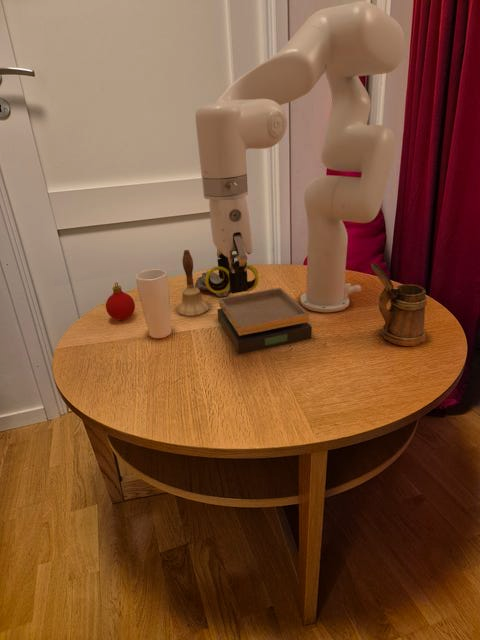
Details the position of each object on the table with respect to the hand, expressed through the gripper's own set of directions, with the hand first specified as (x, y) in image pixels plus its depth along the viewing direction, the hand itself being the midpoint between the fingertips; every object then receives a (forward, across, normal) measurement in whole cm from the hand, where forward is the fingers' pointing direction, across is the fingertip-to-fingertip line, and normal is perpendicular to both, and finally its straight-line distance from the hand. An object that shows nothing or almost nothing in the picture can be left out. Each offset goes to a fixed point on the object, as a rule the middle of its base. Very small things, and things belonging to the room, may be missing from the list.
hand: (233, 283), depth 77 cm
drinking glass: (+17, +17, +14) cm, 28 cm away
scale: (+17, +10, -9) cm, 22 cm away
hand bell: (+18, +27, +4) cm, 33 cm away
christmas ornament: (+17, +30, +22) cm, 40 cm away
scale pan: (+13, +10, -9) cm, 19 cm away
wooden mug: (+18, -5, -34) cm, 39 cm away
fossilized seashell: (+18, +37, -4) cm, 42 cm away
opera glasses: (+1, 0, 0) cm, 1 cm away
